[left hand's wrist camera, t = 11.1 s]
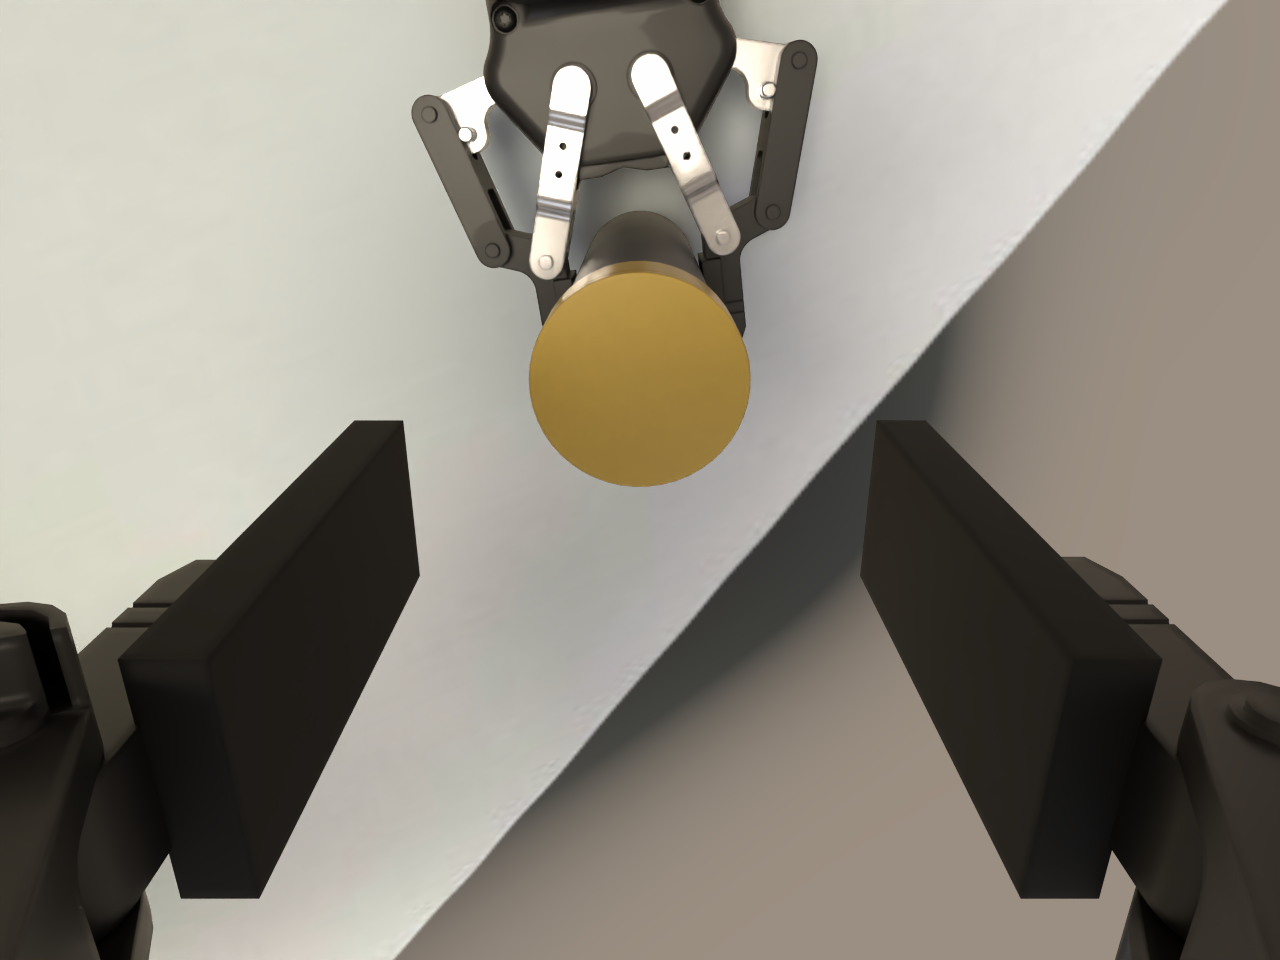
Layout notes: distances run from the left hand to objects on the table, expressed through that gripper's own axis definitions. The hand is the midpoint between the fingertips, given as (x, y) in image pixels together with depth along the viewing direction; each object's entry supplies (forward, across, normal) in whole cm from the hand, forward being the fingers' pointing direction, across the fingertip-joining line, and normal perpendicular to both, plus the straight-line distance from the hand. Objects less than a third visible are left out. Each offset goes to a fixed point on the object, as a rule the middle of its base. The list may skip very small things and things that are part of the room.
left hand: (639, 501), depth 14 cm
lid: (+7, 0, 0) cm, 7 cm away
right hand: (+20, 0, -3) cm, 20 cm away
